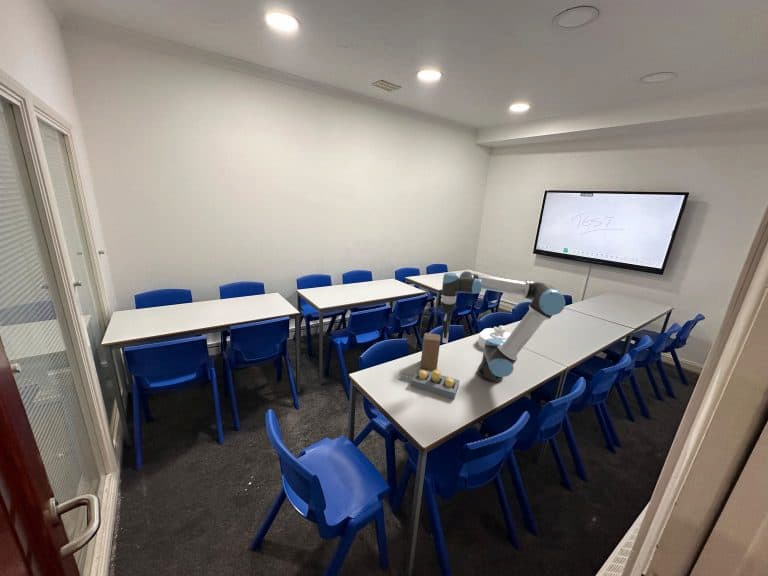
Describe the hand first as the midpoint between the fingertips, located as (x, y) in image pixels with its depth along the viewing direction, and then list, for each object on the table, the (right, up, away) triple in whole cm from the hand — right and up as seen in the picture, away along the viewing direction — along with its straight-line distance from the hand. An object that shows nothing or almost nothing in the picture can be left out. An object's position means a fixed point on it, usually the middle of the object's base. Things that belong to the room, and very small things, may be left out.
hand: (444, 342), depth 165 cm
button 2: (-5, -21, 0) cm, 21 cm away
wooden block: (-6, -19, +22) cm, 30 cm away
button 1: (+2, -25, -2) cm, 25 cm away
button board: (-5, -25, +2) cm, 25 cm away
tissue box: (+49, -12, +55) cm, 75 cm away
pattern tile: (-20, -22, +8) cm, 31 cm away
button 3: (-12, -22, +4) cm, 25 cm away
